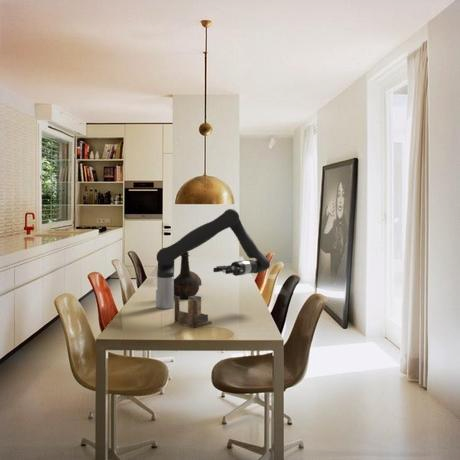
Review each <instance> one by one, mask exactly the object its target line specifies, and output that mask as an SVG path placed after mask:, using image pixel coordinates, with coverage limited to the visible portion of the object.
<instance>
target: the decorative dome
mask: <svg viewBox="0 0 460 460" xmlns="http://www.w3.org/2000/svg"><path fill="white" fill-rule="evenodd" d="M190 274H191V276H192V277H193V278H194V279H196V280H197V281H198V283H199V287H200V286H202V279H201V277H200V276H199V274H197V273H195V272H194V271H191V270H190ZM179 275H180V273H179V274H178V275H177V276H176V277H175V278H177V277H179Z"/></svg>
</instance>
